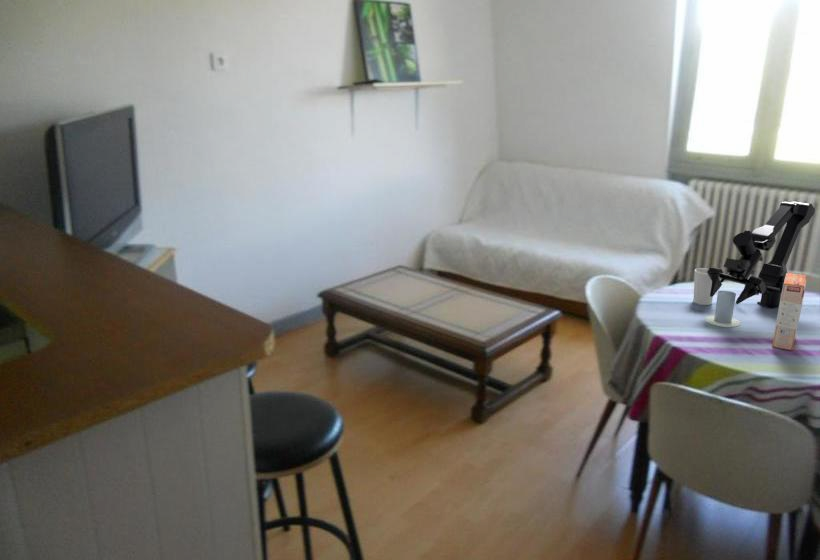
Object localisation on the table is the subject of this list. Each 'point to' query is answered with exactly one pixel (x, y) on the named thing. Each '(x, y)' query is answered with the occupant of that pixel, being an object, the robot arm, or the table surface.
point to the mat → (711, 320)
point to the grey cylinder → (724, 307)
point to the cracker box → (789, 311)
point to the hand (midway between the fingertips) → (723, 299)
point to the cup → (702, 287)
